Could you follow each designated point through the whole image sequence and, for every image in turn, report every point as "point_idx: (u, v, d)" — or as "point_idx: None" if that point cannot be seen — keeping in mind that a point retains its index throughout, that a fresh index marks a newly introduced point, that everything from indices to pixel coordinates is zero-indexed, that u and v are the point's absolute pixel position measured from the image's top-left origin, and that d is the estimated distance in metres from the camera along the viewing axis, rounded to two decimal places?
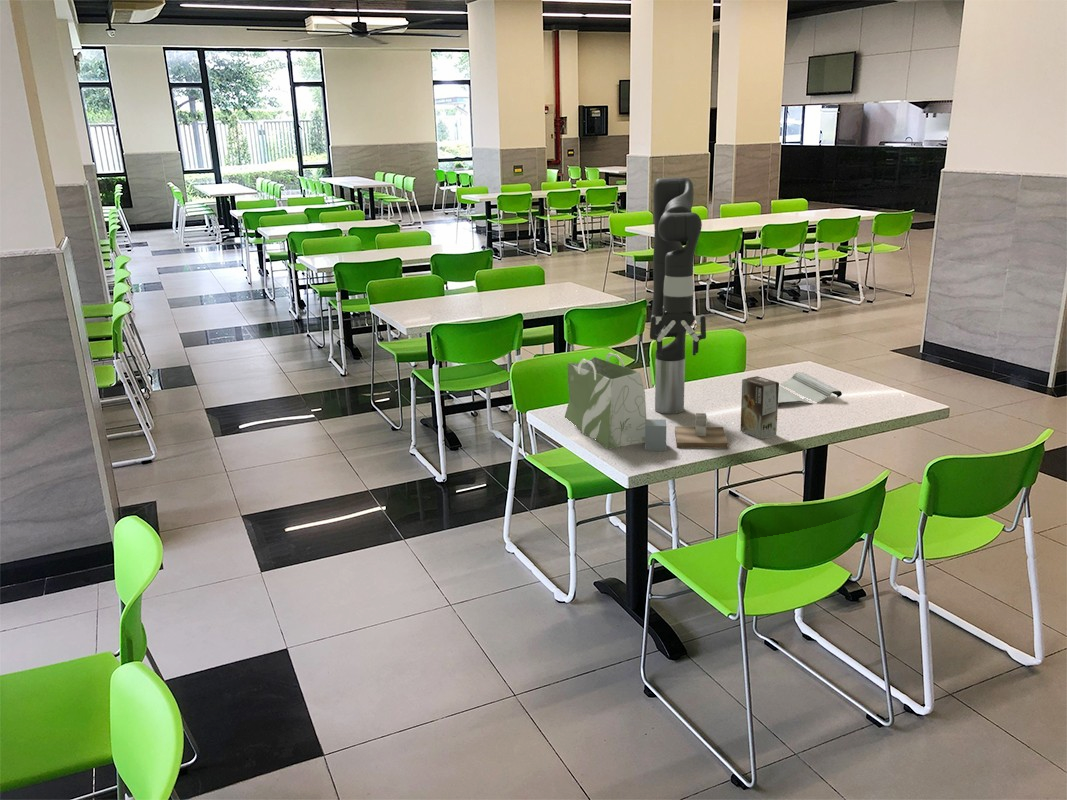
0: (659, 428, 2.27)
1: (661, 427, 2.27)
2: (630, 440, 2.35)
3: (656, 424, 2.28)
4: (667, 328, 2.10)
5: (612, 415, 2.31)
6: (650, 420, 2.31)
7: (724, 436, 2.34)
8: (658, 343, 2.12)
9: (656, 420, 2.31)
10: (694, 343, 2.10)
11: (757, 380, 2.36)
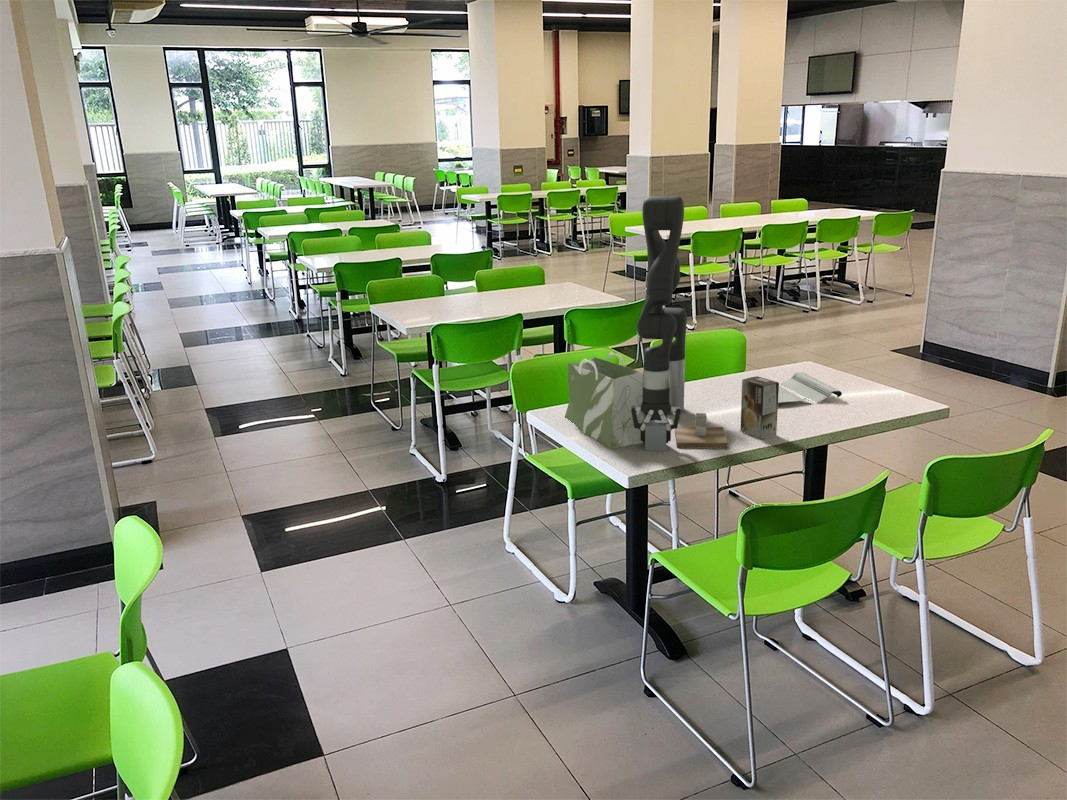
0: (659, 428, 2.27)
1: (661, 427, 2.27)
2: (632, 439, 2.35)
3: (656, 424, 2.28)
4: (647, 417, 2.28)
5: (614, 415, 2.31)
6: None
7: (724, 436, 2.34)
8: (641, 432, 2.30)
9: (656, 420, 2.31)
10: (667, 432, 2.29)
11: (757, 380, 2.36)
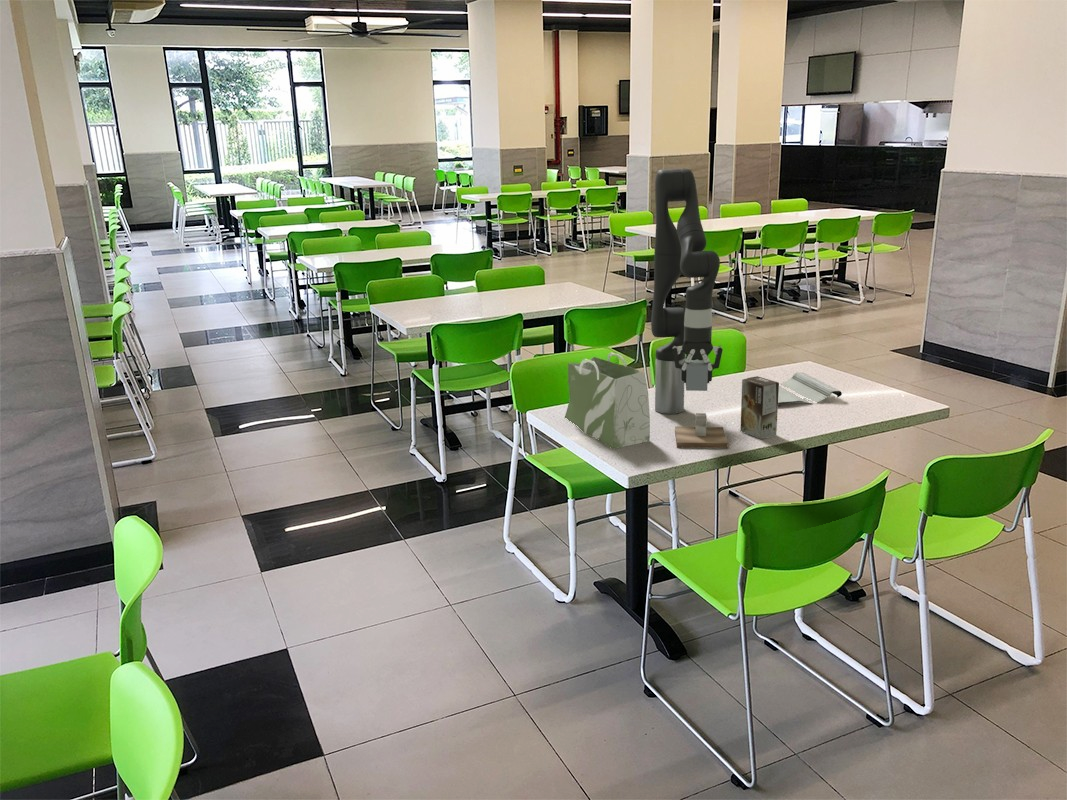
0: (701, 368, 2.27)
1: (702, 366, 2.27)
2: (634, 439, 2.35)
3: (697, 364, 2.28)
4: (689, 357, 2.28)
5: (616, 415, 2.31)
6: (691, 361, 2.31)
7: (724, 436, 2.34)
8: (683, 372, 2.30)
9: (697, 361, 2.31)
10: (708, 372, 2.29)
11: (757, 380, 2.36)
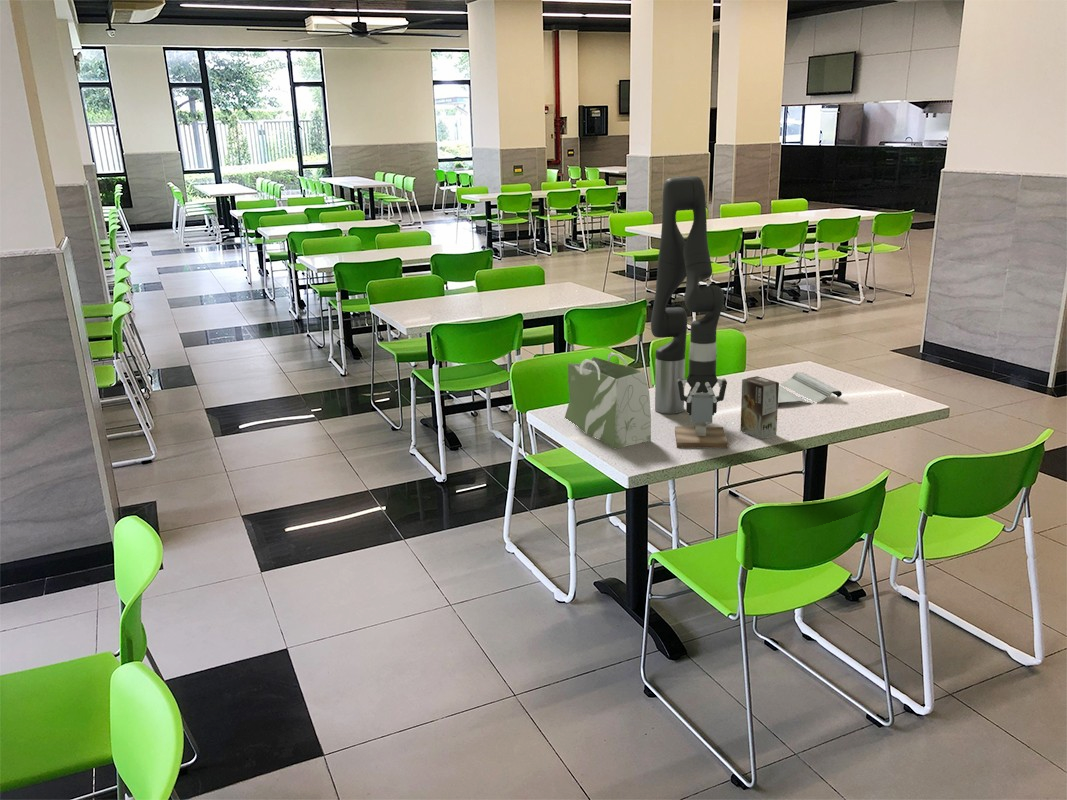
0: (706, 400, 2.30)
1: (707, 399, 2.30)
2: (635, 439, 2.35)
3: (702, 396, 2.31)
4: (694, 390, 2.31)
5: (617, 415, 2.31)
6: (696, 393, 2.35)
7: (724, 436, 2.34)
8: (688, 404, 2.33)
9: (702, 393, 2.34)
10: (713, 404, 2.32)
11: (757, 380, 2.36)
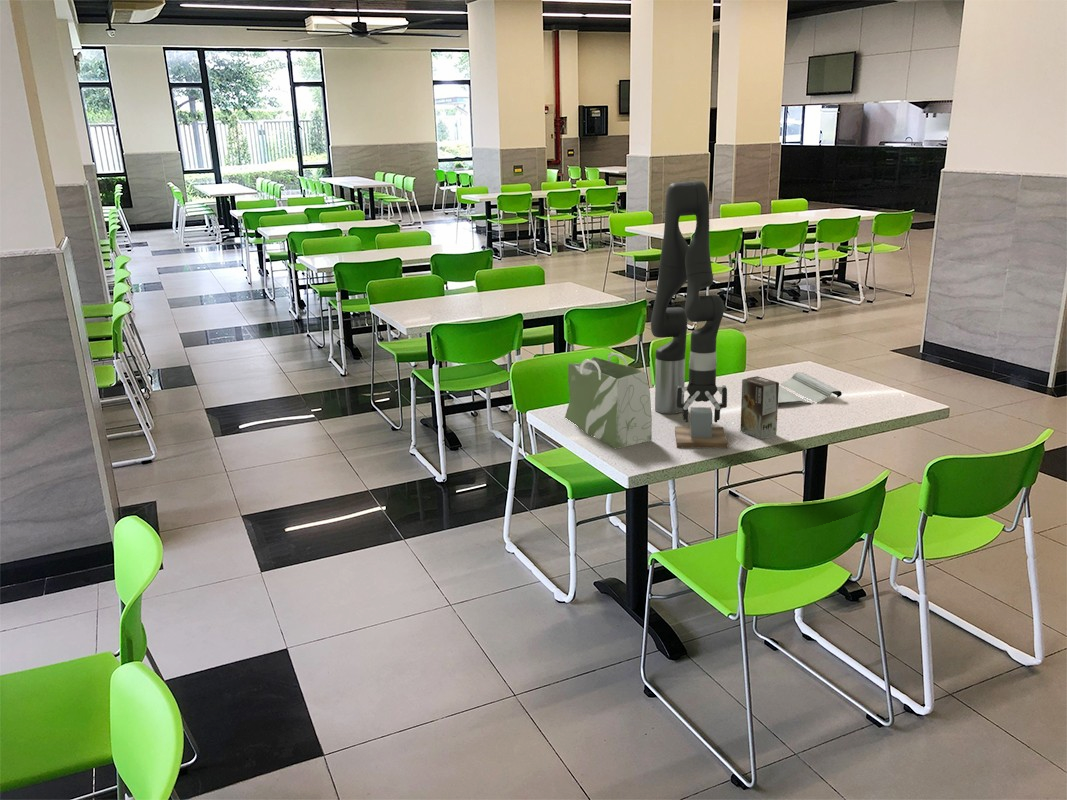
0: (705, 416, 2.31)
1: (707, 414, 2.31)
2: (636, 439, 2.35)
3: (702, 412, 2.32)
4: (692, 398, 2.32)
5: (618, 415, 2.31)
6: (695, 408, 2.36)
7: (724, 436, 2.34)
8: (684, 411, 2.34)
9: (701, 408, 2.36)
10: (716, 411, 2.32)
11: (757, 380, 2.36)
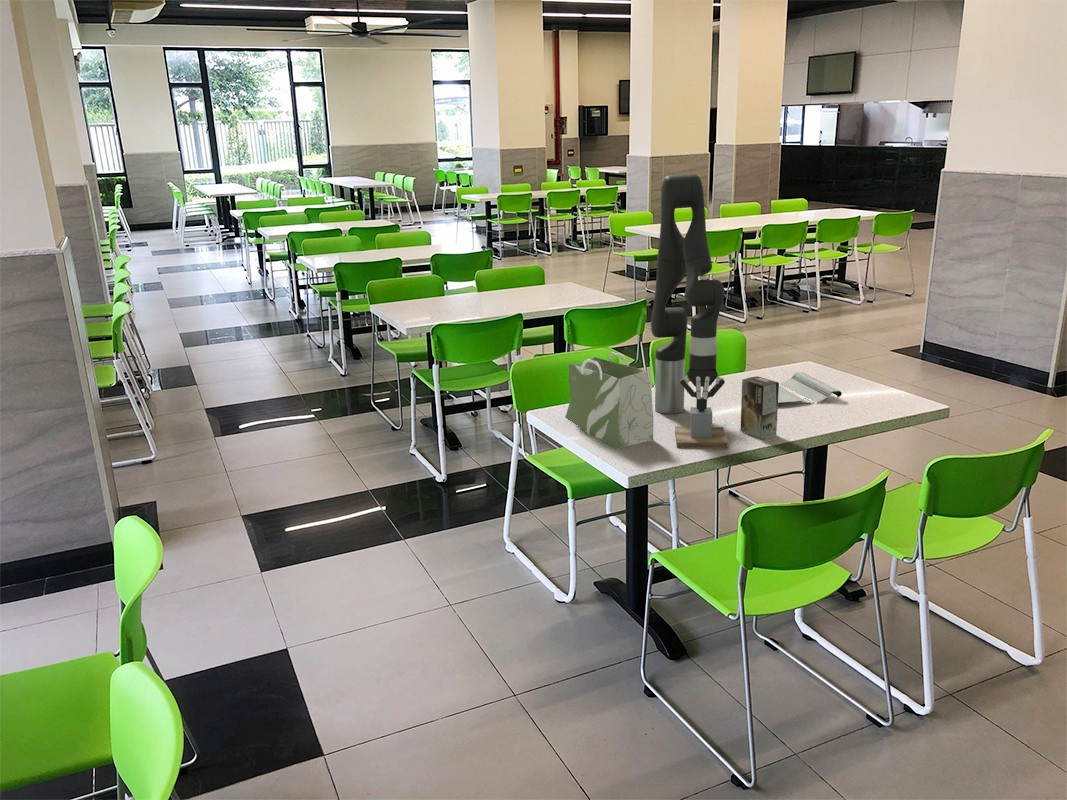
0: (705, 416, 2.31)
1: (707, 414, 2.31)
2: (638, 438, 2.36)
3: (702, 412, 2.32)
4: (697, 385, 2.30)
5: (620, 415, 2.31)
6: (695, 408, 2.36)
7: (724, 436, 2.34)
8: (698, 400, 2.32)
9: None
10: (703, 400, 2.32)
11: (757, 380, 2.36)
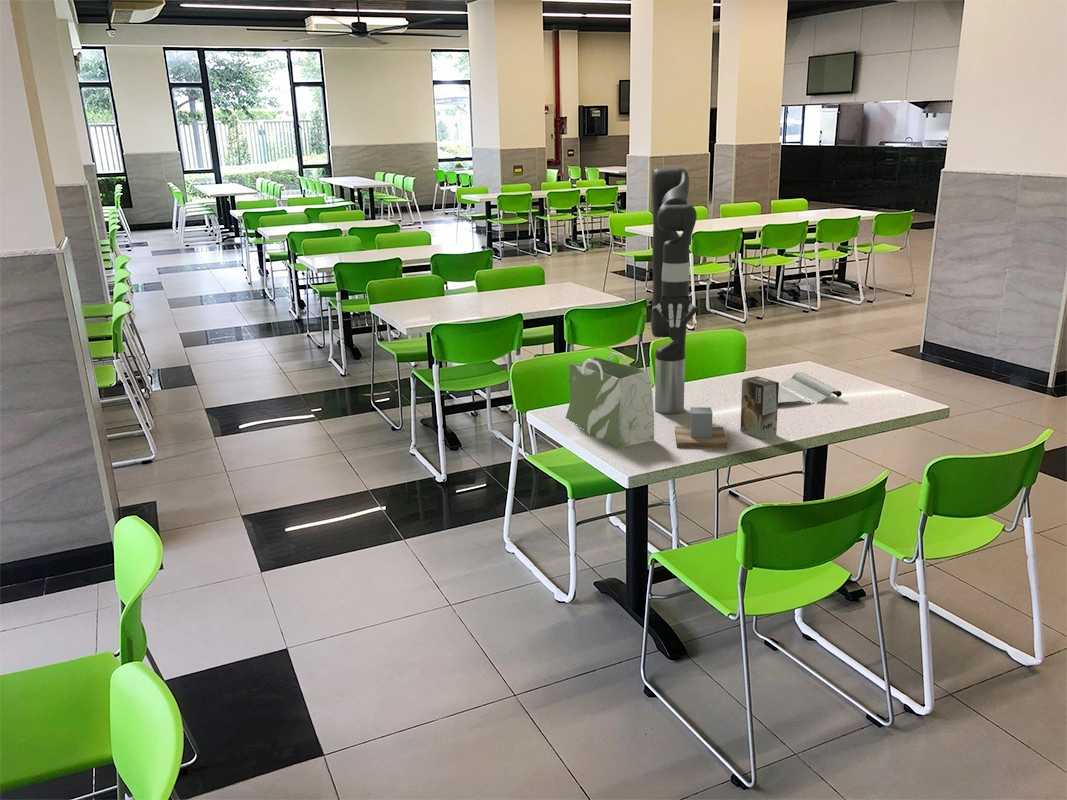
0: (705, 416, 2.31)
1: (707, 414, 2.31)
2: (638, 438, 2.36)
3: (702, 412, 2.32)
4: (670, 313, 2.28)
5: (621, 415, 2.31)
6: (695, 408, 2.36)
7: (724, 436, 2.34)
8: (671, 329, 2.31)
9: (701, 408, 2.36)
10: (675, 329, 2.30)
11: (757, 380, 2.36)
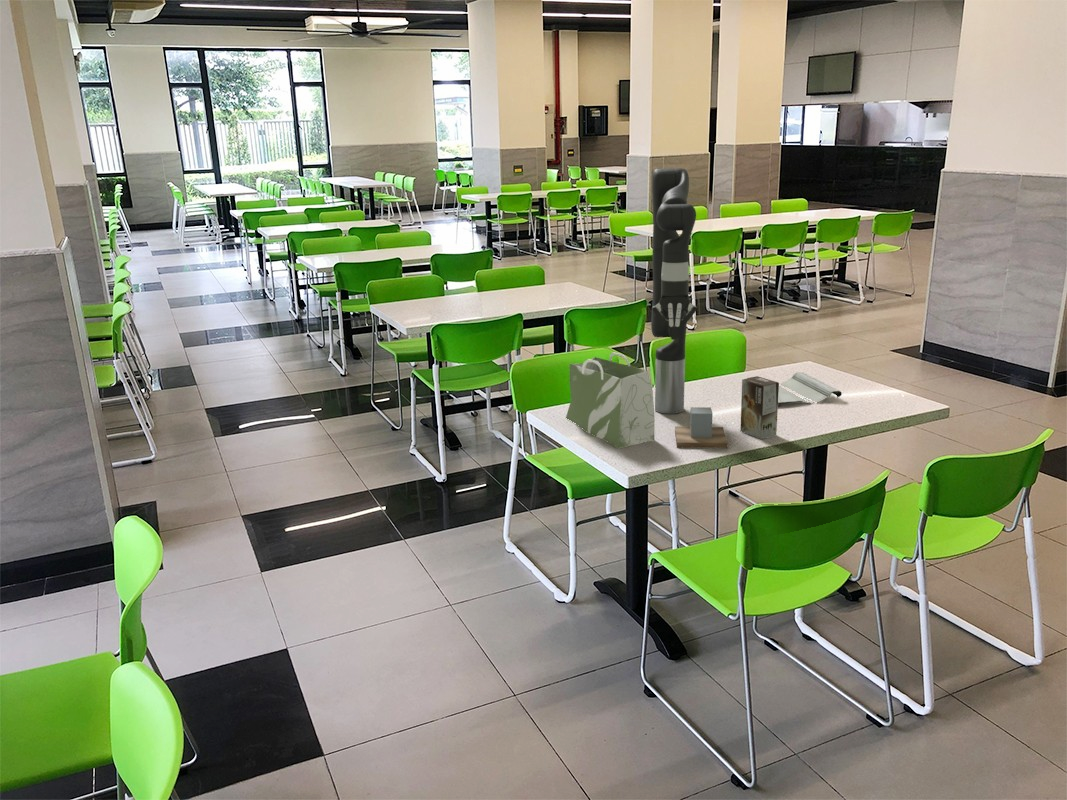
0: (705, 416, 2.31)
1: (707, 414, 2.31)
2: (639, 438, 2.36)
3: (702, 412, 2.32)
4: (670, 312, 2.28)
5: (621, 415, 2.31)
6: (695, 408, 2.36)
7: (724, 436, 2.34)
8: (670, 328, 2.31)
9: (701, 408, 2.36)
10: (675, 328, 2.30)
11: (757, 380, 2.36)
